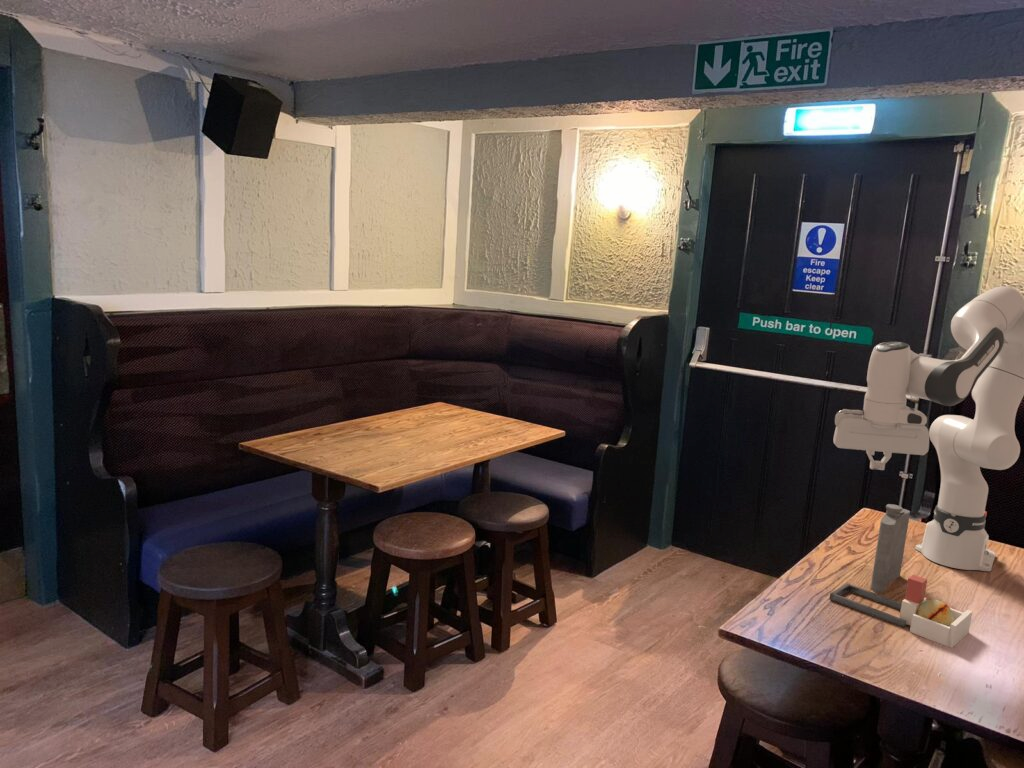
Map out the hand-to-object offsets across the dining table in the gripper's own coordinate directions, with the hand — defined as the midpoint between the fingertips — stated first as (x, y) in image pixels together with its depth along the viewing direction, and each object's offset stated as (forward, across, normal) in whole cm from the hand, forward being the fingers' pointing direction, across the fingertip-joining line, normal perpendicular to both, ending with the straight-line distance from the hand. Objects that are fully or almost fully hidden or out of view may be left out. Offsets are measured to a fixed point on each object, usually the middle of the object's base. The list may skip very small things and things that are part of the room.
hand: (876, 468), depth 183 cm
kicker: (+31, +8, -13) cm, 35 cm away
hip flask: (+32, +6, +8) cm, 33 cm away
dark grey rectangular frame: (+31, +1, -9) cm, 32 cm away
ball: (+31, +12, -16) cm, 37 cm away
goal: (+31, +13, -16) cm, 38 cm away
